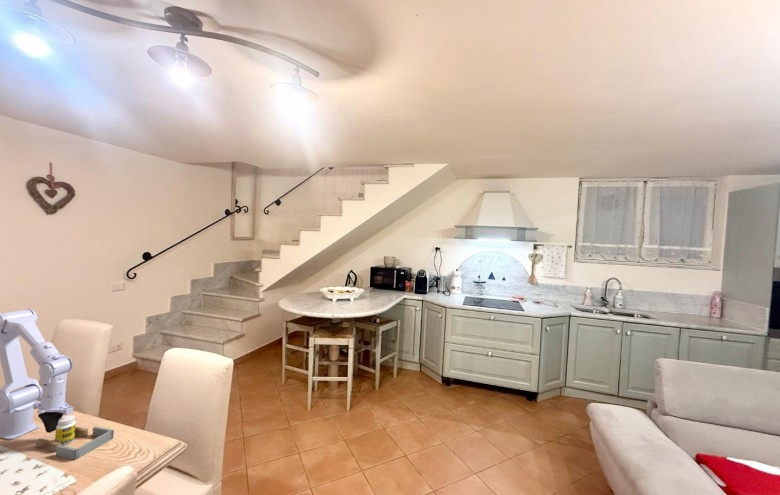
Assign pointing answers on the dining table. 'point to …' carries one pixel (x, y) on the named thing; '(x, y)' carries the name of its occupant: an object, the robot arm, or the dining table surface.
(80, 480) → the dining table surface
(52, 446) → the parallel wooden rails
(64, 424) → the supplement bottle
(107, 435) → the cradle
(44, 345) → the robot arm
